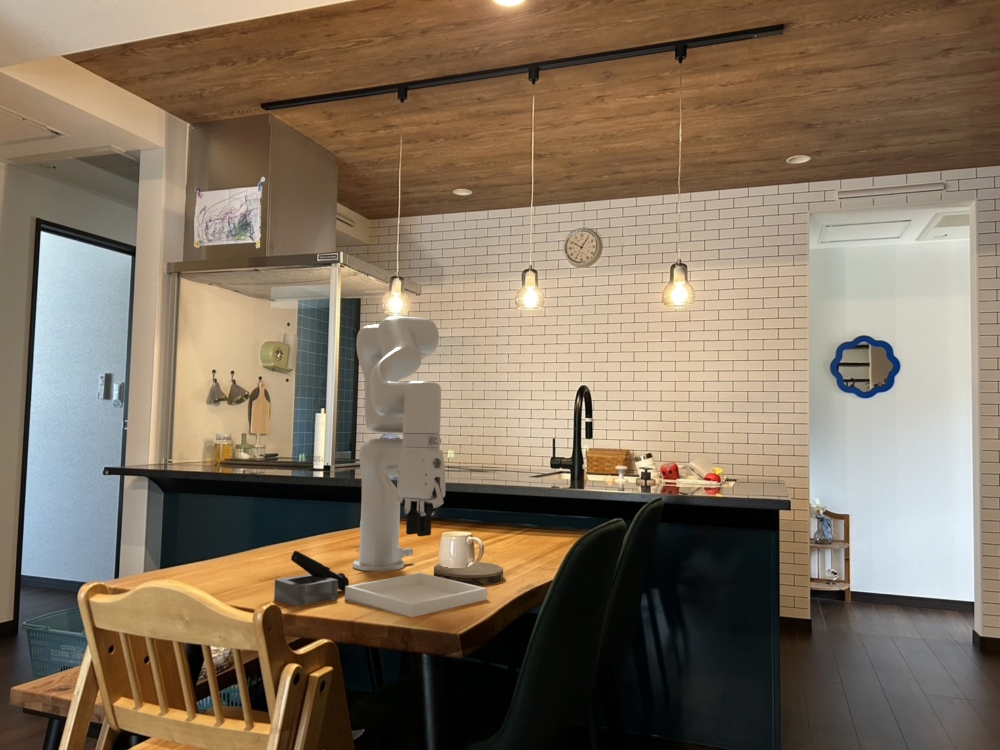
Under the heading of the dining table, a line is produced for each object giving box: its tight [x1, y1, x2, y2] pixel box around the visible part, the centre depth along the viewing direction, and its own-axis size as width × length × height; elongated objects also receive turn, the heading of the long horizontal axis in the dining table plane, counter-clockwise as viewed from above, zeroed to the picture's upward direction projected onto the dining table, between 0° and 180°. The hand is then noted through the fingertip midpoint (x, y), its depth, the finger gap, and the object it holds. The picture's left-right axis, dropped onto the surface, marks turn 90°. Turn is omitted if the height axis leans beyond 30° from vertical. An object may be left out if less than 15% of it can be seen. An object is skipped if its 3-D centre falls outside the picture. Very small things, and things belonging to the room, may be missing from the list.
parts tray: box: [344, 572, 488, 618], centre depth 153 cm, size 20×20×3 cm
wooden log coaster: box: [433, 561, 504, 586], centre depth 175 cm, size 16×16×3 cm
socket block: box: [273, 573, 339, 607], centre depth 153 cm, size 9×8×4 cm
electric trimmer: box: [290, 550, 350, 593], centre depth 156 cm, size 4×16×3 cm, turn 135°
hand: (418, 533), depth 153 cm, fingers closed
